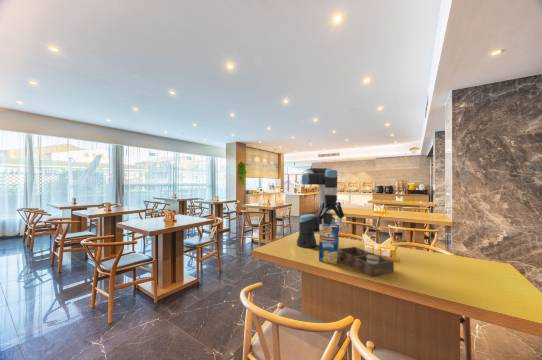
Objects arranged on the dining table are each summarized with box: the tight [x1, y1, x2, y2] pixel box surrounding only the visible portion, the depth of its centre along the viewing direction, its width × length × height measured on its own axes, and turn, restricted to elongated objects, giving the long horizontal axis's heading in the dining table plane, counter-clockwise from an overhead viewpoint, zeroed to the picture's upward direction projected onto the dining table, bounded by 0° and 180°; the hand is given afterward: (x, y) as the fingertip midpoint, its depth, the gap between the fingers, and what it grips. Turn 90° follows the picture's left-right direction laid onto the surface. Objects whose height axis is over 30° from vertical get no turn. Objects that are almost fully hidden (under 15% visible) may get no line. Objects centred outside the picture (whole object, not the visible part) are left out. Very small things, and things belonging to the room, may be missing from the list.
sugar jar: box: [366, 255, 379, 264], centre depth 123 cm, size 7×7×7 cm
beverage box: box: [318, 224, 340, 265], centre depth 135 cm, size 7×11×22 cm, turn 67°
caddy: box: [338, 246, 395, 278], centre depth 129 cm, size 28×16×6 cm, turn 24°
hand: (330, 228), depth 135 cm, fingers open, 13 cm apart
